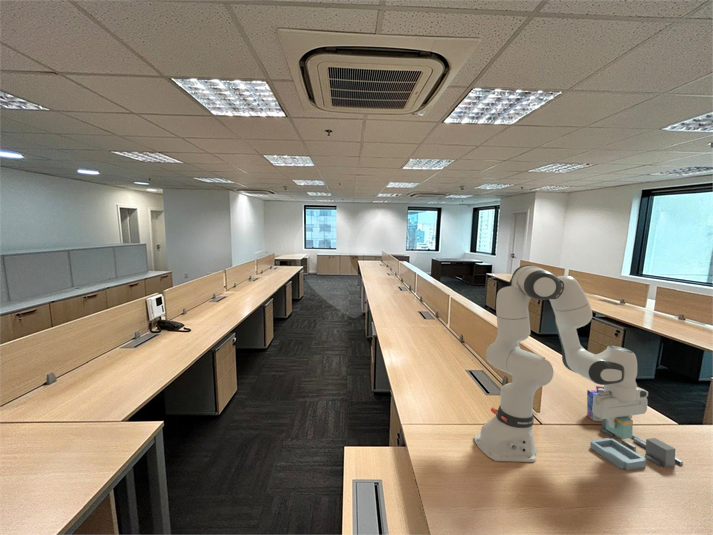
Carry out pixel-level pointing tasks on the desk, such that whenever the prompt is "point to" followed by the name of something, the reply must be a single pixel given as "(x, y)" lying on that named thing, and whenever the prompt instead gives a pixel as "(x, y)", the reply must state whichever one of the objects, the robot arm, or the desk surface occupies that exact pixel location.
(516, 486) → the desk surface
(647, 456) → the clip rail
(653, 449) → the block
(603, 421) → the block
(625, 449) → the tray
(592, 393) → the ink cartridge box
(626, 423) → the block
